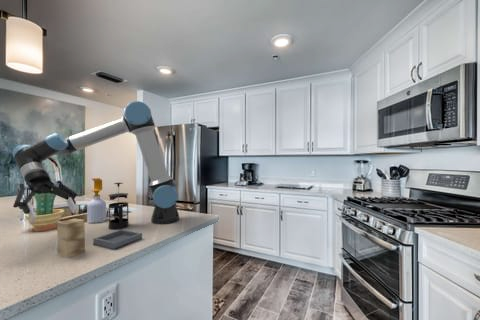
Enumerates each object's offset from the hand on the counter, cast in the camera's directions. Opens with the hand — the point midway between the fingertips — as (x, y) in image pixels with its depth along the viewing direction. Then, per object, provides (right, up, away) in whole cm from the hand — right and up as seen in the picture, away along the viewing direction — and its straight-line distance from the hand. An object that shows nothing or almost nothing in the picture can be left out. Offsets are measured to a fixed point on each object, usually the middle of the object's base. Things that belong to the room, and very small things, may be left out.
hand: (56, 215), depth 86 cm
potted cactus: (-29, -14, +28) cm, 42 cm away
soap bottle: (-10, -14, +40) cm, 43 cm away
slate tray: (+20, -13, +8) cm, 25 cm away
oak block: (+9, -13, -3) cm, 16 cm away
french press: (+8, -14, +29) cm, 33 cm away
